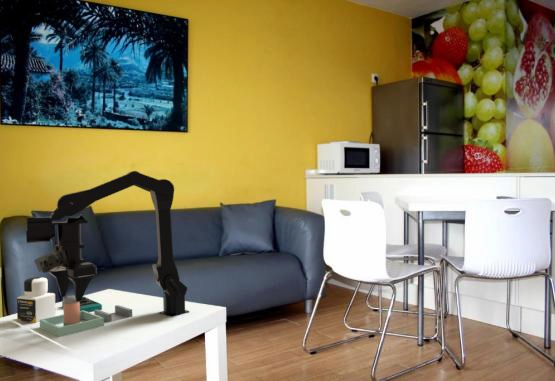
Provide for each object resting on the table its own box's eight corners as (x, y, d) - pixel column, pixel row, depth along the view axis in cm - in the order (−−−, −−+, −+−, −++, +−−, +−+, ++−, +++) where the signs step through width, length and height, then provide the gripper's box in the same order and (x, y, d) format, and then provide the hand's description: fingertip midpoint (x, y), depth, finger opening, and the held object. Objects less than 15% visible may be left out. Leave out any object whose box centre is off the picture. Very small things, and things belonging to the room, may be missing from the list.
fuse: (83, 326, 128) (82, 296, 128) (67, 330, 125) (67, 299, 125) (76, 323, 131) (75, 294, 131) (60, 327, 128) (60, 297, 128)
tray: (103, 327, 128) (103, 317, 128) (58, 338, 119) (58, 328, 119) (83, 319, 136) (83, 310, 136) (39, 328, 127) (39, 319, 127)
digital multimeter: (84, 303, 156) (84, 295, 156) (102, 312, 145) (102, 302, 145) (61, 308, 151) (61, 299, 151) (78, 317, 140) (78, 307, 140)
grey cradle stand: (132, 317, 137) (132, 309, 137) (108, 323, 131) (108, 315, 131) (118, 313, 142) (117, 305, 142) (94, 318, 137) (94, 310, 137)
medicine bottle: (16, 322, 134) (15, 279, 134) (37, 315, 141) (37, 275, 141) (35, 324, 132) (34, 281, 132) (56, 317, 138) (55, 276, 138)
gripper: (24, 241, 128) (25, 299, 128) (53, 246, 115) (54, 310, 115) (65, 237, 136) (66, 291, 136) (97, 242, 123) (98, 302, 124)
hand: (70, 298), depth 128 cm, fingers open, 9 cm apart
